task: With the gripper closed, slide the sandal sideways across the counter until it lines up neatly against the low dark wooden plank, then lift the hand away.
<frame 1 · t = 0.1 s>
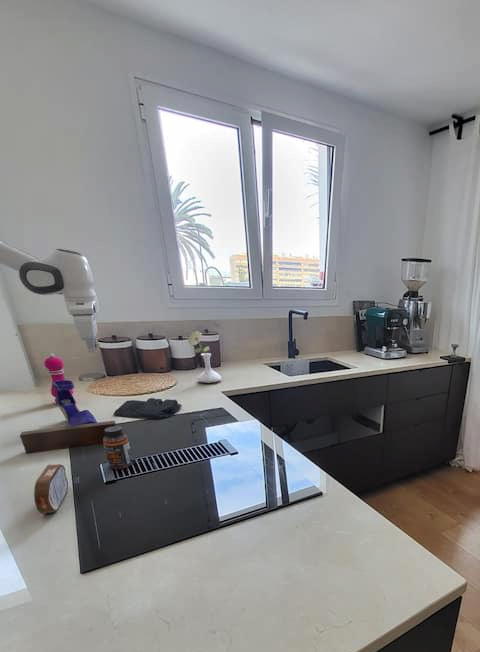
hand: (93, 350, 131), 26 cm above the counter, tool pointing down, fingers open, 8 cm apart
tin: (57, 503, 93), on the counter
dark wooden plank: (75, 445, 123), on the counter
dark grey glove: (149, 412, 154), on the counter
pepper mill: (65, 402, 161), on the counter
supplement bottle: (121, 466, 112), on the counter
flower in vase: (208, 382, 197), on the counter
sandal: (81, 425, 139), on the counter
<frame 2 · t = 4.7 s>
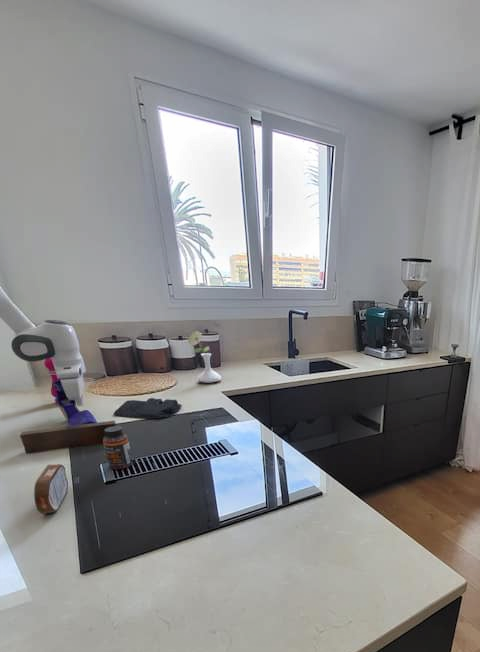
hand: (80, 405, 145), 5 cm above the counter, tool pointing down, fingers closed
sandal: (81, 425, 139), on the counter, touching gripper
everything else where it was.
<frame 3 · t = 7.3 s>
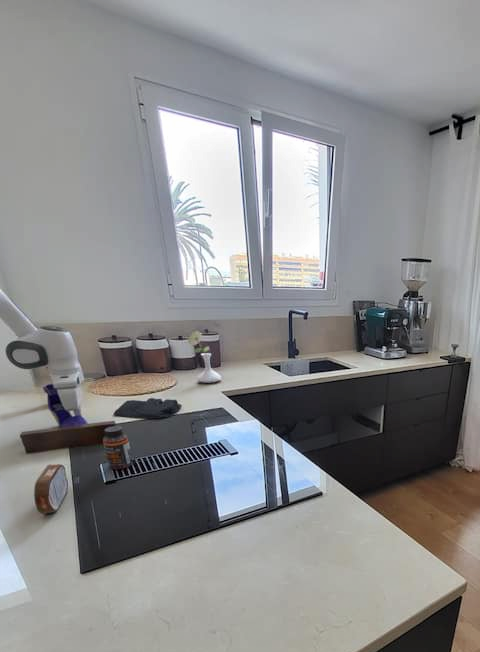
hand: (78, 415, 137), 4 cm above the counter, tool pointing down, fingers closed
sandal: (73, 430, 135), on the counter, touching gripper
everything else where it was.
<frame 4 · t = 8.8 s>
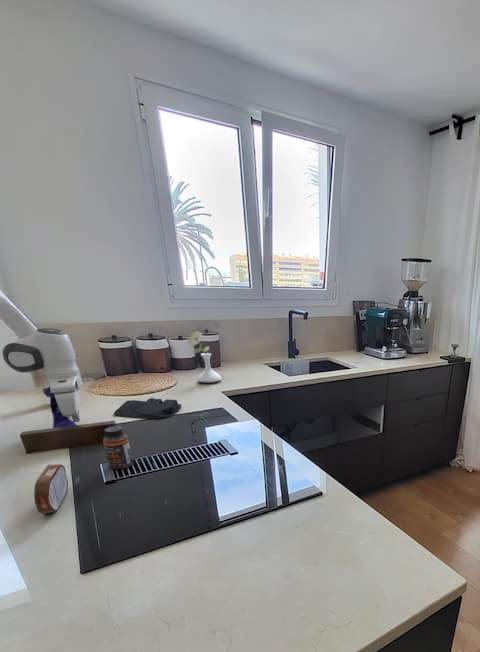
hand: (77, 420, 132), 4 cm above the counter, tool pointing down, fingers closed
sandal: (68, 434, 131), on the counter, touching gripper, dark wooden plank
everything else where it was.
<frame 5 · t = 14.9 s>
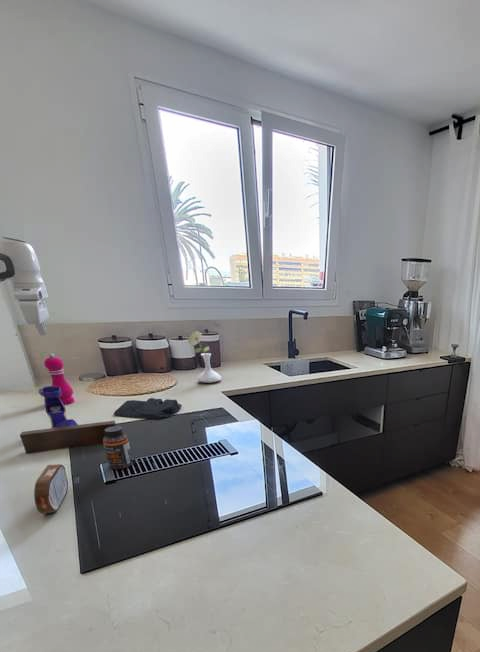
hand: (43, 334, 137), 29 cm above the counter, tool pointing down, fingers closed
sandal: (67, 434, 131), on the counter
everything else where it was.
at the end: sandal inside the target area (1.3 cm from its centre), on the counter; sandal tilted 0°; the gripper is holding nothing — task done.
